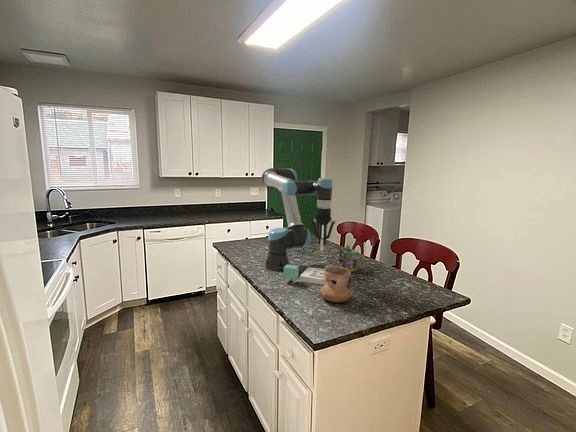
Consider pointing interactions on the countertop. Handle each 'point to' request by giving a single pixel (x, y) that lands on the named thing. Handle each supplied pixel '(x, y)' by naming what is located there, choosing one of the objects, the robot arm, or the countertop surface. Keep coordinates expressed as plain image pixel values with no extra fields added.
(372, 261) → the countertop surface
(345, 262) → the chalk box
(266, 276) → the countertop surface
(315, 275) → the socket
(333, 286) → the ceramic jug
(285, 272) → the teal block figurine
